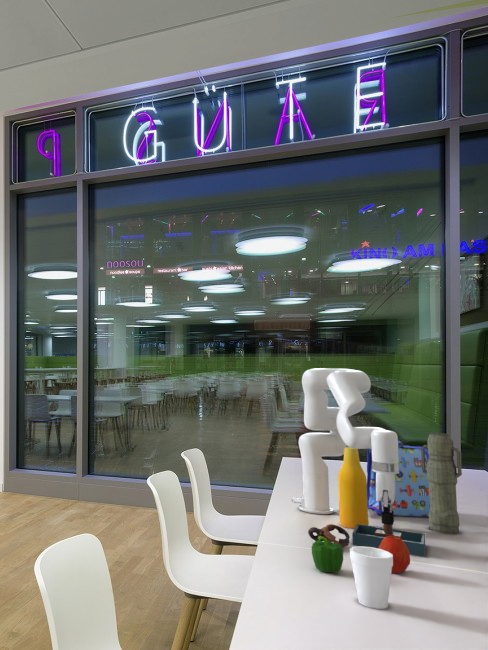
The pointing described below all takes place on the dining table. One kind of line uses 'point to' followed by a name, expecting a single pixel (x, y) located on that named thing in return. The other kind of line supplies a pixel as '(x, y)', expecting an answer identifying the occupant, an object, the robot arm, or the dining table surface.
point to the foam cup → (372, 575)
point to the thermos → (442, 482)
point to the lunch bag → (404, 484)
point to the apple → (396, 553)
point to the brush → (387, 532)
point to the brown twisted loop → (326, 533)
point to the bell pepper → (327, 555)
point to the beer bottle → (352, 491)
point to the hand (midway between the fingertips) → (387, 522)
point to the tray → (367, 538)
